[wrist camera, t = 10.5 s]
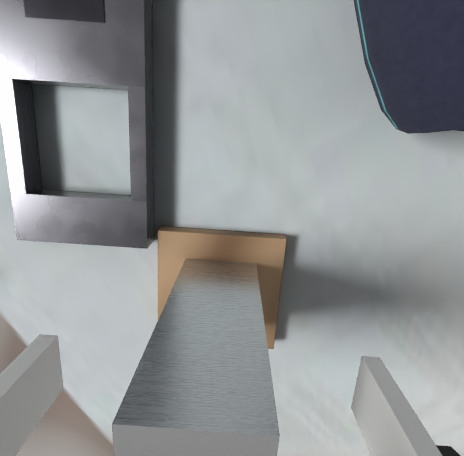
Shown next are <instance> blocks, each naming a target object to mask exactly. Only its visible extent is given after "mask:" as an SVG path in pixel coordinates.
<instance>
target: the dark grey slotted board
mask: <svg viewBox="0 0 464 456" xmlns="http://www.w3.org/2000/svg"><path fill="white" fill-rule="evenodd" d="M31 84H43V85H59V86H74V87H89V88H105V89H120V90H128V100H129V136H130V173H131V195H116V194H101V193H86V192H71V191H55V190H42V181H41V171H40V162H39V152H38V143H37V134H36V124H35V115H34V105H33V96H32V86H31ZM0 117H1V124H2V132H3V139H4V147H5V154H6V162H7V169H8V176H9V184H10V191H11V199H12V206H13V213H14V221H15V228H16V236H17V240H28V241H43V242H58V243H73V244H88V245H103V246H118V247H133V248H148V247H149V246H150V244H151V243H152V242H153V241H154V165H153V21H152V0H0Z"/></svg>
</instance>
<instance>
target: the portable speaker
mask: <svg viewBox="0 0 464 456" xmlns="http://www.w3.org/2000/svg"><path fill="white" fill-rule="evenodd" d="M354 4H355V10H356V16H357V21H358V27H359V33H360V38H361V44H362V49H363V55H364V61H365V65H366V68H367V71H368V74H369V76H370V79H371V82H372V85H373V88H374V91H375V94H376V97H377V99H378V102H379V105H380V108H381V110H382V112H383V113H384V114H385V115H386V117H387V118H388V119H389V120H390V122H391V123H392V124H393V125H394V127H395V128H396V129H398V130H400V131H403V132H406V133H429V132H439V131H449V130H457V131H464V0H354Z"/></svg>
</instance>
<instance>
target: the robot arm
mask: <svg viewBox="0 0 464 456" xmlns="http://www.w3.org/2000/svg"><path fill="white" fill-rule="evenodd" d="M62 389H63V380H62V371H61V361H60V352H59V343H58V336H56V335H41V334H40V335H39V336H38V337H37V338H36V339H35V340H34V341H33V342H32V343H31V344H30V345H29V346H28V347H27V348H26V349H25V350H24V351H23V352H22V353H21V354H20V355H19V356H18V357H17V358H16V359H15V360H14V361H13V362H12V363H11V364H10V365H9V366H8V367H7V368H6V369H5V370H4V371H3V372H2V373H1V374H0V456H16V454H17V453H18V452H19V450H20V449H21V447H22V446H23V444H24V443H25V442H26V440H27V439H28V437H29V436H30V434H31V433H32V432H33V430H34V428H35V427H36V426H37V425H38V423H39V422H40V420H41V419H42V417H43V416H44V415H45V413H46V412H47V410H48V409H49V407H50V406H51V405H52V403H53V402H54V400H55V399H56V398H57V396H58V395H59V393H60V392H61V390H62ZM351 409H352V411H353V414H354V416H355V418H356V421H357V423H358V426H359V428H360V430H361V433H362V435H363V438H364V440H365V442H366V445H367V447H368V450H369V452H370V455H371V456H460V455H459V454H458V453H457V452H456V451H455V450H454V449H453V448H452V447H451V446H437V445H435V443H434V442H433V440H432V439H431V437H430V435H429V434H428V432H427V431H426V429H425V428H424V426H423V425H422V423H421V421H420V420H419V418H418V417H417V415H416V414H415V412H414V410H413V409H412V407H411V406H410V404H409V403H408V401H407V400H406V398H405V396H404V395H403V393H402V392H401V390H400V389H399V387H398V385H397V384H396V382H395V381H394V379H393V378H392V376H391V374H390V373H389V371H388V370H387V368H386V367H385V365H384V364H383V362H382V360H381V359H380V357H365V356H362V358H361V363H360V367H359V372H358V377H357V382H356V386H355V391H354V396H353V401H352V405H351Z"/></svg>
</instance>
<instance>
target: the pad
mask: <svg viewBox="0 0 464 456" xmlns="http://www.w3.org/2000/svg"><path fill="white" fill-rule="evenodd" d="M285 246H286V237H285V235H284V234H271V233H256V232H241V231H226V230H211V229H196V228H181V227H166V226H161V227H160V229H159V230H158V320H159V317H160V315H161V313H162V311H163V308H164V306H165V304H166V302H167V299H168V297H169V295H170V293H171V290H172V288H173V286H174V284H175V281H176V279H177V277H178V275H179V272H180V270H181V268H182V266H183V263H184V261H185V259H200V260H215V261H230V262H245V263H256V265H257V273H258V280H259V288H260V295H261V302H262V310H263V317H264V325H265V332H266V339H267V347H268V349H274V340H275V332H276V323H277V315H278V306H279V297H280V289H281V280H282V272H283V263H284V255H285Z"/></svg>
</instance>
